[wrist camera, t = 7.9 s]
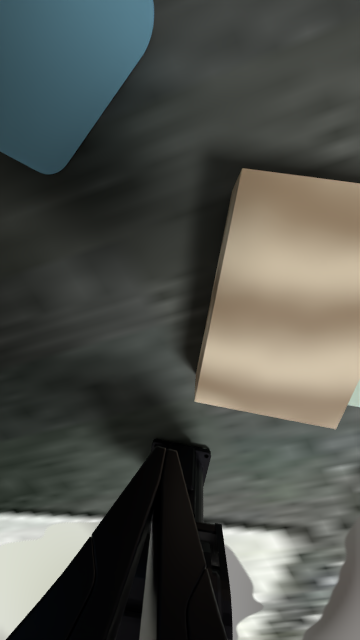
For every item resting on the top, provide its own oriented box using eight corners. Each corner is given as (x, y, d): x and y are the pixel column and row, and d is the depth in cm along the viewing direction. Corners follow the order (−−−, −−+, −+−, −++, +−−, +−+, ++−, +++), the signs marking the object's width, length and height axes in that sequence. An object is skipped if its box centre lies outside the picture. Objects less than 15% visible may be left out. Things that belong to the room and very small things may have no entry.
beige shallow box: (309, 395, 20) (335, 429, 16) (195, 374, 20) (194, 401, 16) (383, 211, 15) (447, 194, 11) (232, 190, 15) (242, 168, 12)
